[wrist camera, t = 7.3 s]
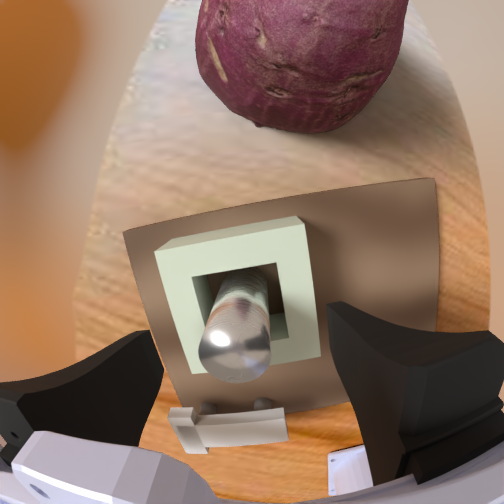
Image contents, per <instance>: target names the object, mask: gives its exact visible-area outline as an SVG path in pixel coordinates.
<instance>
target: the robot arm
mask: <svg viewBox="0 0 504 504" xmlns="http://www.w3.org/2000/svg"><path fill="white" fill-rule="evenodd" d="M326 311H327V322H328V333H329V345H330V351H331V354H332V358H333V361H334V365H335V368H336V370H337V372H338V375H339V377H340V379H341V381H342V384H343V386H344V388H345V390H346V393H347V395H348V397H349V399H350V402H351V404H352V406H353V409H354V411H355V414H356V417H357V420H358V424H359V427H360V431H361V435H362V438H363V442H364V445H361V446H357V447H353V448H349V449H345V450H340V451H336V452H332V453H330V454H329V455H328V493H329V495H330V496H333V495H337V496H333V497H327V498H322V499H316V500H310V501H304V502H296V503H288V504H504V413H503V412H502V411H501V409H502V408H503V406H504V403H503V401H502V400H501V399H500V398H499V397H498V395H499V392H500V389H501V386H502V384H503V381H504V343H503V342H502V341H501V340H500V339H498V338H497V337H496V336H495V335H494V334H492V333H491V332H490V331H489V330H487V331H476V332H465V333H445V332H432V331H425V330H418V329H413V328H408V327H404V326H401V325H397V324H394V323H390V322H388V321H385V320H382V319H380V318H377V317H375V316H372V315H370V314H368V313H366V312H364V311H362V310H360V309H358V308H356V307H354V306H352V305H350V304H347V303H345V302H343V301H338V302H333V303H328V304H326ZM163 373H164V367H163V365H162V362H161V360H160V357H159V355H158V352H157V349H156V347H155V344H154V341H153V339H152V336H151V333H150V330H142V331H136V332H133V333H131V334H129V335H127V336H125V337H123V338H121V339H119V340H118V341H116V342H114V343H112V344H111V345H109V346H107V347H106V348H104V349H102V350H101V351H99V352H97V353H95V354H93V355H91V356H90V357H88V358H86V359H84V360H82V361H80V362H78V363H76V364H74V365H71V366H69V367H67V368H64V369H62V370H59V371H56V372H53V373H49V374H47V375H44V376H40V377H35V378H31V379H26V380H20V381H12V382H2V383H0V434H1V436H2V437H3V438H4V440H5V441H6V442H7V444H6V446H5V447H2V446H1V445H0V504H283V503H261V502H248V501H238V500H230V499H221V498H218V497H217V496H216V495H215V494H214V492H213V491H212V489H211V488H210V486H209V485H208V483H207V482H206V481H205V480H204V479H203V478H202V477H201V476H200V475H199V474H197V473H196V472H195V471H194V470H193V469H192V468H191V467H190V466H189V465H187V464H185V463H183V462H181V461H179V460H177V459H174V458H172V457H170V456H168V455H166V454H164V453H161V452H157V451H152V450H148V449H144V448H140V447H138V446H139V442H140V438H141V434H142V431H143V428H144V426H145V423H146V421H147V418H148V416H149V414H150V411H151V409H152V407H153V404H154V402H155V399H156V397H157V394H158V392H159V389H160V386H161V382H162V378H163Z"/></svg>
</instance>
